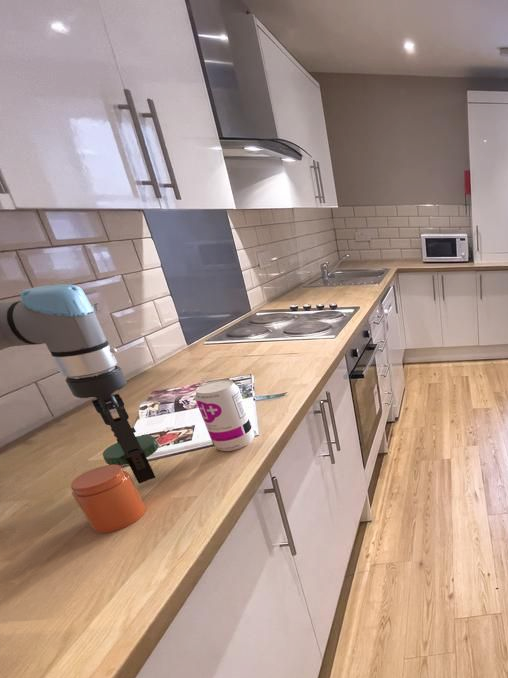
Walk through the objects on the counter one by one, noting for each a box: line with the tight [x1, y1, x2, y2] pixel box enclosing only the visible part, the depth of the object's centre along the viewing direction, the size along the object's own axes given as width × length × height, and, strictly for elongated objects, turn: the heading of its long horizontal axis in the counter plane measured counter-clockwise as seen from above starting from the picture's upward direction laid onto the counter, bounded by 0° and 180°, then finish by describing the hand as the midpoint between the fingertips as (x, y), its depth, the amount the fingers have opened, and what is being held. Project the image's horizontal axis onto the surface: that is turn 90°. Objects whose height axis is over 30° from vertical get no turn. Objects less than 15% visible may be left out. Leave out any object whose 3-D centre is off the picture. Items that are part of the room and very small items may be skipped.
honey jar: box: [70, 464, 147, 534], centre depth 73 cm, size 7×7×10 cm
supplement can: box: [194, 379, 255, 452], centre depth 94 cm, size 8×8×15 cm
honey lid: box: [102, 434, 160, 466], centre depth 83 cm, size 8×8×2 cm
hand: (142, 471), depth 85 cm, fingers closed on honey lid, 8 cm apart
